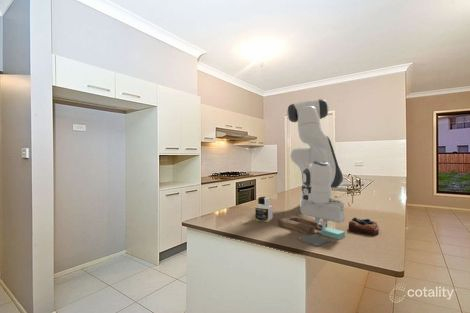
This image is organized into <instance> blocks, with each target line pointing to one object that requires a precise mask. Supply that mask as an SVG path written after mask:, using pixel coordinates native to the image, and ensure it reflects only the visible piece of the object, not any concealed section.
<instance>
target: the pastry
mask: <svg viewBox="0 0 470 313" xmlns="http://www.w3.org/2000/svg"><path fill="white" fill-rule="evenodd" d="M348 230H349V232H353V233H355V234H356V233H358V234H362V235H367V236H368V235H370V236H376V235H377V234H378V233H379V232H380V227H379V225H378V222H377V221H374V220H370V218H364V219H362V218H359V217H358V218H357V217H353V218H352V219H351V220H350V221H349V222H348Z"/></svg>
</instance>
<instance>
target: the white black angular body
mask: <svg viewBox="0 0 470 313" xmlns="http://www.w3.org/2000/svg"><path fill="white" fill-rule="evenodd" d="M257 199H258V200H257V202H258V203H257V204H258V206H255V207H254V208H255V221H259V222H266V223H269V222H270V221H271V220H273V205H271V204H270V202H271V201H270V198H269V197H268V196H260V197H259V196H258V198H257Z"/></svg>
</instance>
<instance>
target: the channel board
mask: <svg viewBox="0 0 470 313" xmlns="http://www.w3.org/2000/svg"><path fill="white" fill-rule="evenodd" d="M320 222H321V224H323V221H322V220H320ZM277 224H278V226H281V227H284V228H287V229H291V230H293V231H294V230H295V231H297V232H301V233H304V234H306V235H309V234H314V233H315V229H318V230H321V228H318V224H317V222H316V220H315V218H310V217H305V216H304V215H298V214H294V215H290V216H288V217H283V218H279V219H277ZM326 227H328V222H327V223H326V225H325V228H326Z"/></svg>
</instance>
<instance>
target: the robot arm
mask: <svg viewBox="0 0 470 313" xmlns="http://www.w3.org/2000/svg"><path fill="white" fill-rule="evenodd" d="M329 108H330V107H329V104H328V102H327V100H326V99H322V98H321V99H320V98H319V99H312V100H311V99H310V100H306V101H305V100H304V101H302V102H301V101H300V102H297V103H291V104H289V106H288V107H287V109H286V110H287V111H286V116H287V118H288V120H289V122H291V123H297V131H298V135H299V136H298V137H299V139H300V141H301V142H302V143H303V144H306V145H308V146H300V147H295V148H293V149H292V150H291V153H290V159H291V161H292V162H293V163H294V164H295V165H296V166H297V167H298V169H299V170H300V173H301V181H302V182H301V183H302V185H301V193H300V199H299V200H300V201H299V202H300V203H298V205H299V209H300V213H301V214H302V216H308V217H313V218H314V219H315V220H316V222H317V224H318V228H321V229H323V228H325V225H326V223H327V224H328V222H332V223H333V222H334V223H337V224H340V223H343V222H344V221H345V220H346V216H345V204H344V202H342V201H341V200H339V199H334V198H333V190H332V189H336V188H338V187H340V186H341V184H342V183H343V180H344V177H343V176H344V175H343V172H342V170H341V167H340V166H339V163H338V161H337V157H336V154H335V151H334V148H333V145H332V142H331V139H330V137H329V136H328V135H326V134H325V133H324V132H323V130H322V126H321V125H322V124H321V120H322V119H324V118H326V117H327V116H328V113H329ZM320 221H323V224H321V222H320ZM318 228H317V229H318ZM321 229H320V230H321Z"/></svg>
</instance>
